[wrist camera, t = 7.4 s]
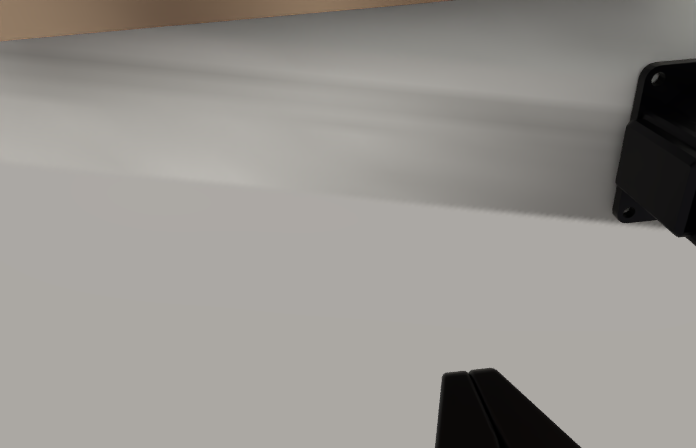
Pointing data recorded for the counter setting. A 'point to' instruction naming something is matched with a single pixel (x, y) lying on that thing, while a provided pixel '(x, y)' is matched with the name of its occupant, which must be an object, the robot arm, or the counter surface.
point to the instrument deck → (152, 13)
